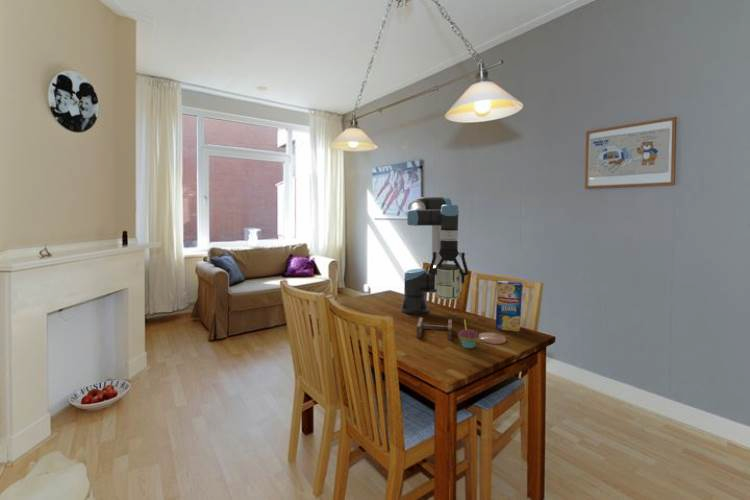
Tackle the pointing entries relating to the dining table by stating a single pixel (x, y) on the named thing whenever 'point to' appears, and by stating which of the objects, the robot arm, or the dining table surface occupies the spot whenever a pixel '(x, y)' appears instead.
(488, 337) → the coaster
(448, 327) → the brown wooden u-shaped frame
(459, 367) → the dining table surface
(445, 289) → the coffee can
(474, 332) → the cupcake
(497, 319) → the blue cardboard box
